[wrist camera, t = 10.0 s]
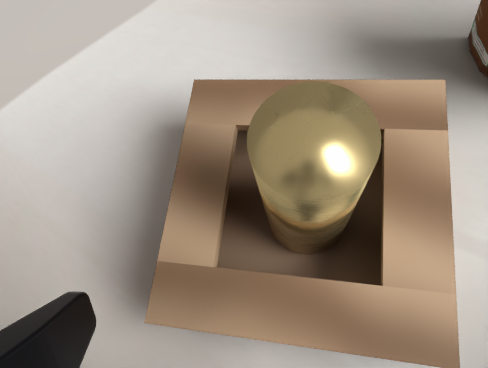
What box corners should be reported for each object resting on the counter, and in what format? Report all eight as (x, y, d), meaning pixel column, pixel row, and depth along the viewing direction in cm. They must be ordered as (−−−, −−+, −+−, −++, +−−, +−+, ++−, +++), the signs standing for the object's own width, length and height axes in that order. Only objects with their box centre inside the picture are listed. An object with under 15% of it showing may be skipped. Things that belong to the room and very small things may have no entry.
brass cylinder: (329, 267, 21) (354, 221, 12) (256, 236, 22) (225, 172, 13) (356, 195, 22) (399, 102, 13) (285, 169, 23) (276, 67, 14)
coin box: (426, 360, 19) (460, 370, 15) (181, 324, 22) (144, 322, 17) (420, 129, 23) (445, 79, 19) (216, 123, 26) (194, 79, 22)
